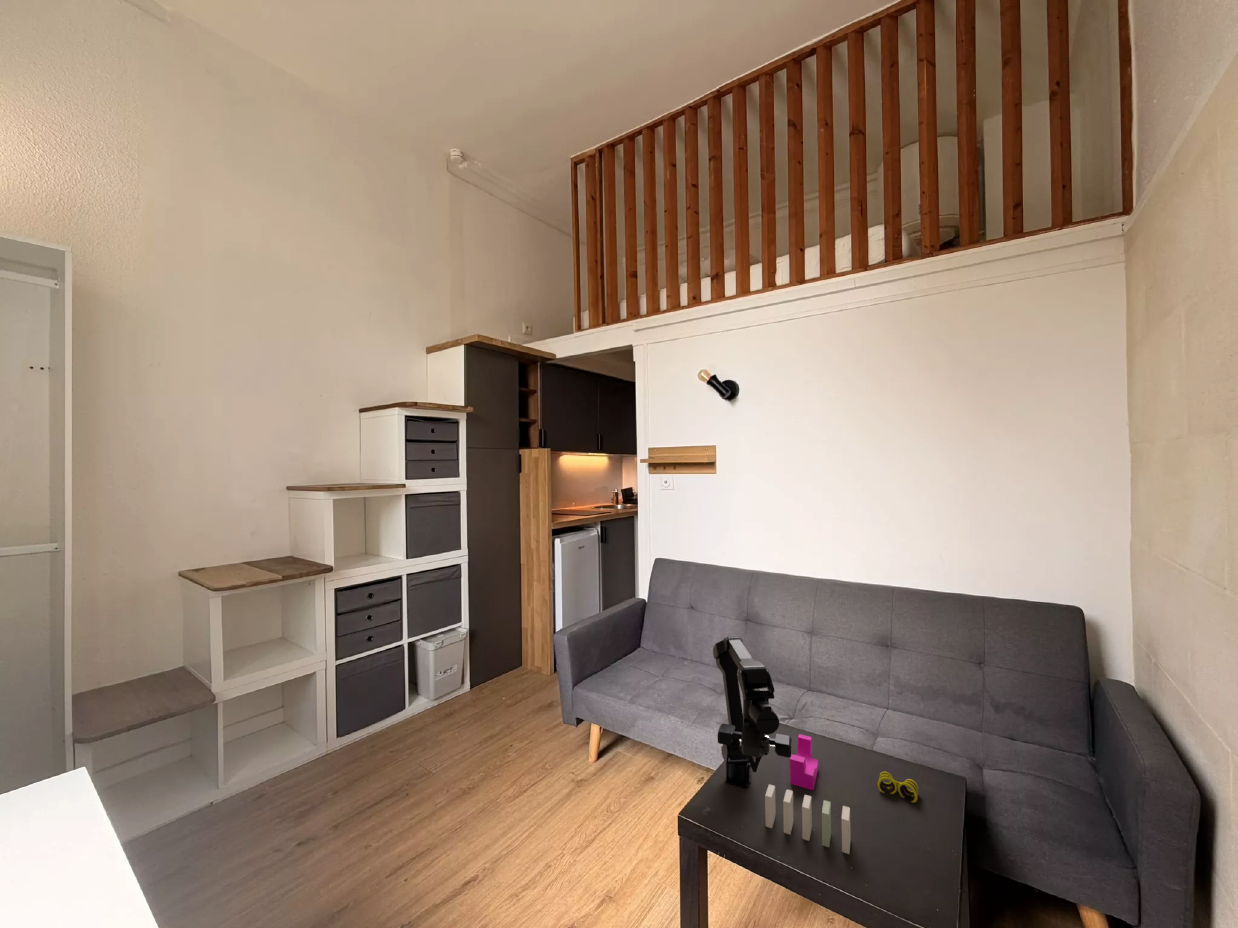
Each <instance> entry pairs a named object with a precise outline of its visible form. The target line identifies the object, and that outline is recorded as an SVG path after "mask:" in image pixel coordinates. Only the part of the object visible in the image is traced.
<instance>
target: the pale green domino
mask: <svg viewBox="0 0 1238 928" xmlns="http://www.w3.org/2000/svg"><path fill="white" fill-rule="evenodd" d="M831 811H832V807H831V801H828V800H825V799H823V803H822V810H821V845H822V846H823V847H826V848H830V844H831V838H832V837H831V836H832V816H831V815H832V814H831Z"/></svg>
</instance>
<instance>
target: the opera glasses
mask: <svg viewBox="0 0 1238 928" xmlns="http://www.w3.org/2000/svg"><path fill="white" fill-rule="evenodd" d="M884 780H888V781H889V782H886V781H884ZM876 786H877V789H878V790H879V792H881V793H883V794H886V792H885V790H886V789H887V790H888V791H889V792H890V793H889V794H890V795H894V794H895V793H896V792H897V791H898V793H899V795H900V797H901V798H902V799H905V797H906V796H910V797H911V800H910V802H911V803H913V804H914V803H917V801H918V792H919V785H918V783H916V781H914V780H913V779H910V778H907V779H905V780H904V781H903V782H899V781H897V780H895V779H894V777H893V776H892V774H891V773H889V772H887V771H882V772H880V774H879V779H878V781H877V785H876Z"/></svg>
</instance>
